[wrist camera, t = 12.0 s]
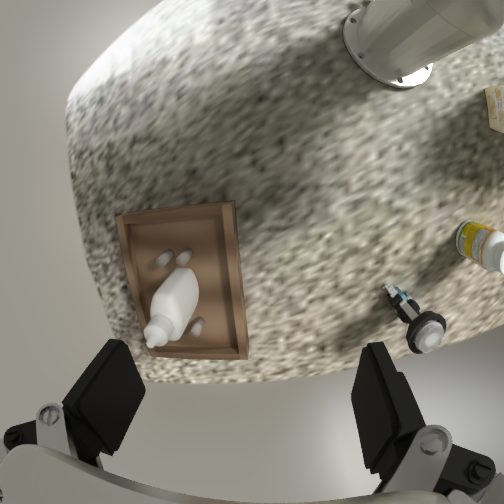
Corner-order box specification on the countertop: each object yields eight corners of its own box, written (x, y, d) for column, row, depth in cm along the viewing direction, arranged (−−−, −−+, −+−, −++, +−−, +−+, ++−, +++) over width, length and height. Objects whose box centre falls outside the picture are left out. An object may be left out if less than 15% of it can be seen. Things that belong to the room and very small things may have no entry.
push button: (371, 295, 33) (400, 337, 24) (400, 268, 32) (437, 303, 22) (393, 323, 34) (422, 365, 25) (420, 298, 33) (455, 335, 24)
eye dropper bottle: (163, 296, 33) (122, 352, 22) (178, 260, 32) (136, 309, 20) (193, 312, 34) (163, 375, 22) (211, 277, 32) (183, 335, 21)
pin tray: (126, 212, 32) (108, 219, 27) (234, 200, 31) (229, 206, 26) (157, 344, 38) (146, 362, 33) (249, 346, 37) (246, 366, 32)
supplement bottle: (449, 240, 30) (491, 263, 21) (468, 212, 29) (512, 228, 20) (464, 262, 31) (503, 287, 22) (482, 235, 29) (523, 255, 20)
